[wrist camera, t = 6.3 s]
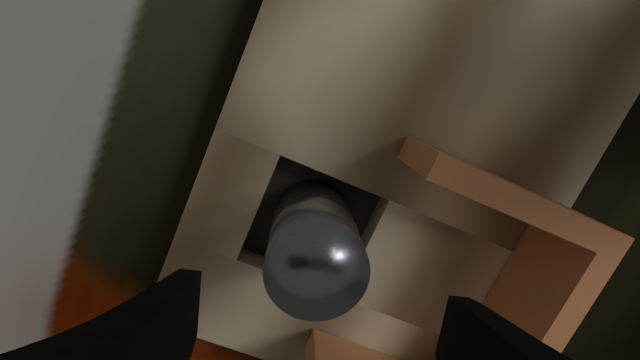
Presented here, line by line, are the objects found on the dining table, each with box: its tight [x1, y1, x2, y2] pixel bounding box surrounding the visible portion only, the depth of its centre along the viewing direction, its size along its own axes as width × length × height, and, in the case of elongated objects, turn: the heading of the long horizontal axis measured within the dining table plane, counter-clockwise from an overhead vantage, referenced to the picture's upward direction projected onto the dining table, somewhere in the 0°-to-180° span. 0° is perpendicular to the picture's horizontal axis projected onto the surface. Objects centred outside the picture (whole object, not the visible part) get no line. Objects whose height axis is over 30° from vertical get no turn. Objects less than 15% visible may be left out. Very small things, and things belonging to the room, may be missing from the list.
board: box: [157, 0, 640, 360], centre depth 18 cm, size 16×22×2 cm
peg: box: [262, 179, 370, 322], centre depth 16 cm, size 4×4×6 cm
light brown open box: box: [305, 136, 635, 360], centre depth 17 cm, size 8×11×4 cm
